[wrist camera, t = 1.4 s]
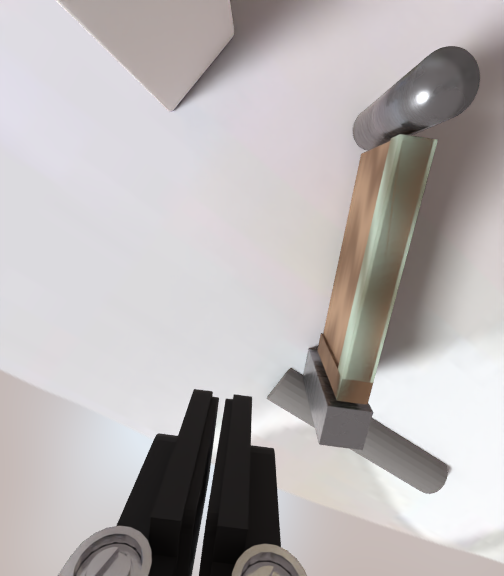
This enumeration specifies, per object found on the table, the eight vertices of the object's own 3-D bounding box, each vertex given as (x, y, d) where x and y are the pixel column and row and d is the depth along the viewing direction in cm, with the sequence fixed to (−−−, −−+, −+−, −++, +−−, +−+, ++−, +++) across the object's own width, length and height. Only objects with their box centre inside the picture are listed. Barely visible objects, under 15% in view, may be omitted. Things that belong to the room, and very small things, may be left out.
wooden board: (358, 153, 24) (399, 134, 17) (385, 157, 24) (437, 139, 17) (317, 350, 28) (337, 400, 21) (340, 353, 28) (367, 404, 21)
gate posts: (397, 110, 24) (488, 51, 15) (334, 382, 30) (370, 467, 21) (357, 104, 24) (423, 41, 15) (302, 377, 30) (323, 461, 21)
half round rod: (288, 361, 30) (289, 371, 29) (446, 460, 33) (456, 474, 31) (262, 394, 31) (262, 406, 30) (417, 487, 34) (426, 503, 32)
